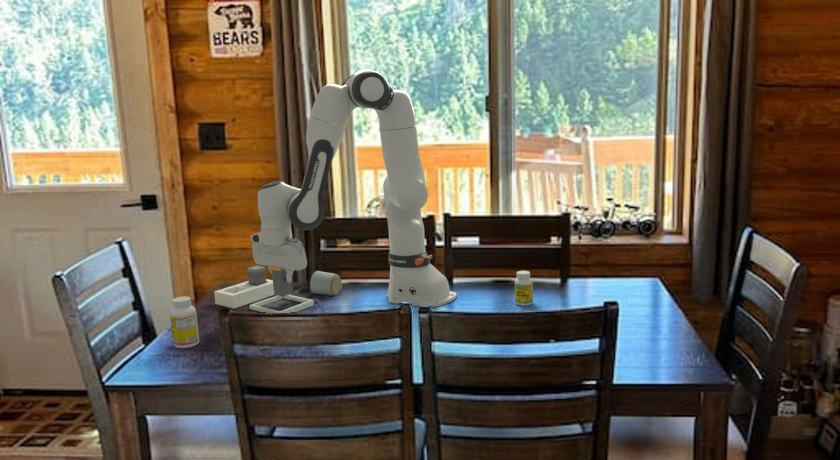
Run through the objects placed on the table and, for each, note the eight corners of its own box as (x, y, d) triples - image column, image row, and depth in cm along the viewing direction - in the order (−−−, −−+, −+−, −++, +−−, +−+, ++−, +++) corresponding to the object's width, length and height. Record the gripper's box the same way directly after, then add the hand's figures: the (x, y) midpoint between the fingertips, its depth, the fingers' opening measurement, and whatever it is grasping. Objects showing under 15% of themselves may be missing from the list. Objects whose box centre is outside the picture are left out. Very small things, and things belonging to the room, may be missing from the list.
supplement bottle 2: (534, 301, 218) (533, 270, 216) (531, 306, 213) (531, 275, 211) (516, 300, 220) (516, 269, 218) (513, 305, 215) (512, 274, 213)
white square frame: (314, 306, 221) (313, 300, 221) (280, 319, 211) (279, 312, 210) (283, 300, 230) (283, 293, 229) (250, 312, 219) (249, 305, 219)
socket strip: (279, 296, 234) (277, 281, 233) (234, 311, 220) (232, 295, 219) (260, 292, 239) (259, 277, 238) (215, 306, 226) (214, 291, 224)
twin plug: (267, 294, 233) (265, 267, 232) (257, 297, 230) (255, 270, 228) (259, 292, 236) (257, 265, 234) (249, 295, 233) (247, 268, 231)
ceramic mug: (332, 299, 228) (331, 275, 227) (310, 297, 231) (308, 274, 230) (348, 290, 238) (346, 267, 237) (326, 288, 241) (324, 266, 240)
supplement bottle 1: (177, 341, 197) (171, 295, 194) (201, 339, 197) (197, 294, 195) (171, 350, 190) (165, 303, 188) (196, 348, 191) (191, 301, 188)
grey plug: (293, 292, 220) (289, 264, 218) (283, 296, 217) (279, 267, 215) (284, 291, 222) (281, 263, 220) (274, 294, 219) (270, 266, 217)
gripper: (309, 236, 212) (314, 282, 215) (262, 231, 224) (268, 274, 227) (293, 241, 207) (298, 287, 210) (246, 235, 219) (252, 279, 222)
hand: (282, 280), depth 218 cm, fingers closed on grey plug, 4 cm apart
